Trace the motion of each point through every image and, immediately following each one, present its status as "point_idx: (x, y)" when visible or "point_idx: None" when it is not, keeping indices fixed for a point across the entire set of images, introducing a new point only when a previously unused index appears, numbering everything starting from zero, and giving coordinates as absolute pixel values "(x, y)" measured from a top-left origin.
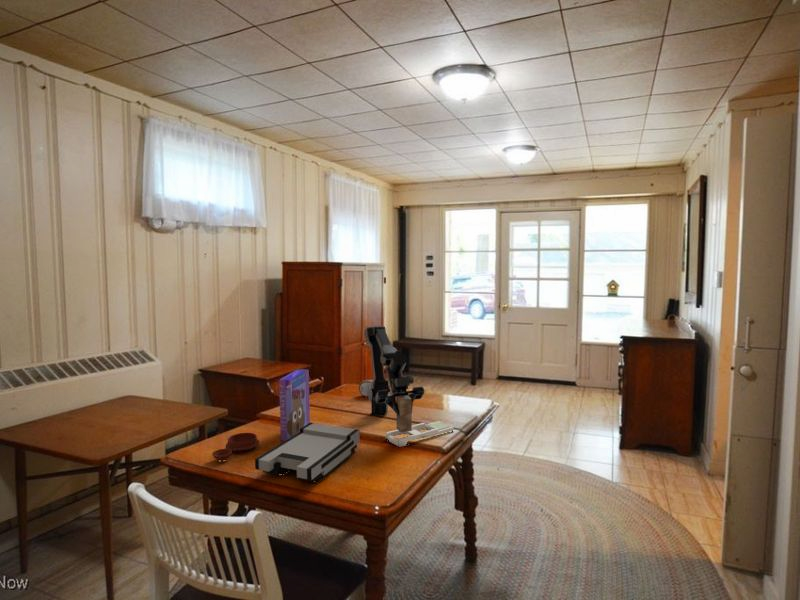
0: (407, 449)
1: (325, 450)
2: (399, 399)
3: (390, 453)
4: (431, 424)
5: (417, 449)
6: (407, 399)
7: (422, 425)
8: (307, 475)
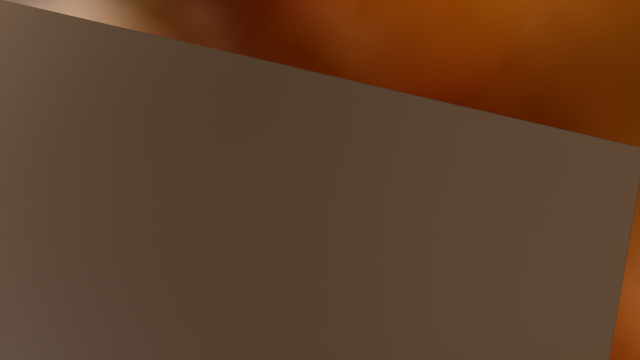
0: (403, 79)
1: None
2: (622, 263)
3: (594, 87)
4: None
5: (321, 29)
6: (176, 50)
7: None
8: None
